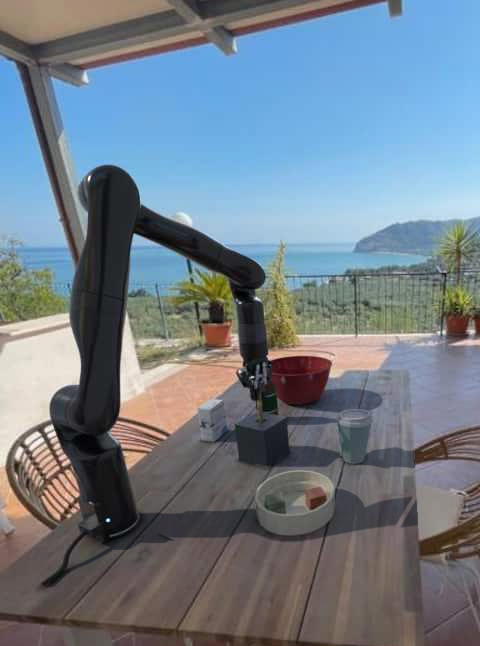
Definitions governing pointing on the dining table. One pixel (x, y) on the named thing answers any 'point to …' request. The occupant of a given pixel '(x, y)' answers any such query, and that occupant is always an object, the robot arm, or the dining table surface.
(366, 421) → the disposable coffee cup
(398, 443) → the dining table surface
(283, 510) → the sage block
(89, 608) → the dining table surface
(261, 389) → the stirring stick
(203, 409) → the ink box
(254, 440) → the stick stand
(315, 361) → the mixing bowl
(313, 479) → the bowl
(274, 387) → the beer bottle
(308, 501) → the terracotta block
